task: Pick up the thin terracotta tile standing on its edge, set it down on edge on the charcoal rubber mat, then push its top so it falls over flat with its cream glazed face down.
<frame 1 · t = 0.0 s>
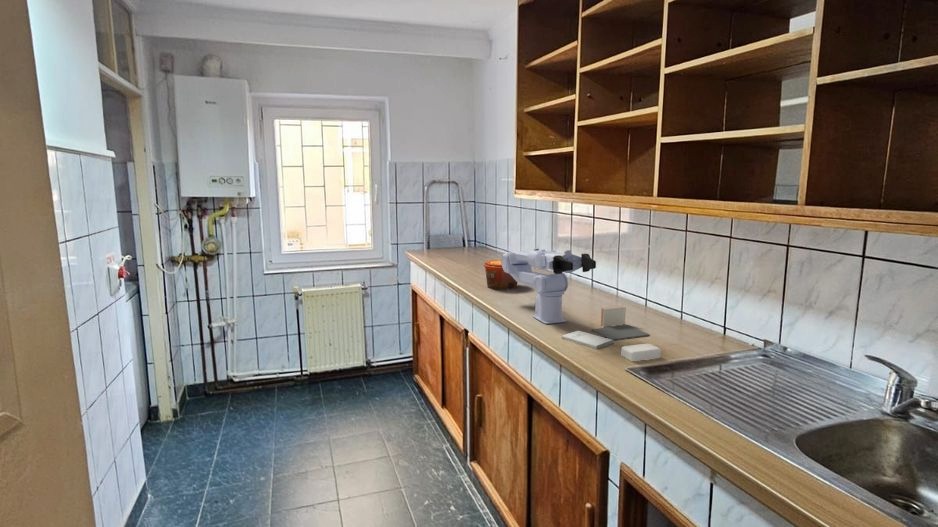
hand: (583, 265, 151), 22 cm above the worktop, tool horizontal, fingers open, 7 cm apart
food container: (502, 287, 223), on the worktop
external hard drive: (587, 343, 151), on the worktop
tile: (612, 325, 166), on the worktop
mat: (620, 333, 158), on the worktop
soap: (640, 358, 138), on the worktop
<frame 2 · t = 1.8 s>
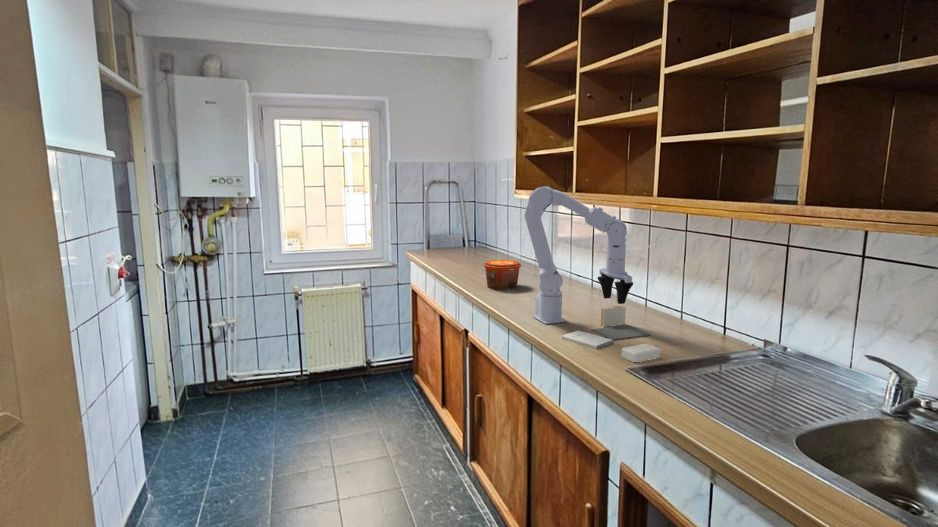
hand: (614, 300, 165), 8 cm above the worktop, tool pointing down, fingers open, 7 cm apart
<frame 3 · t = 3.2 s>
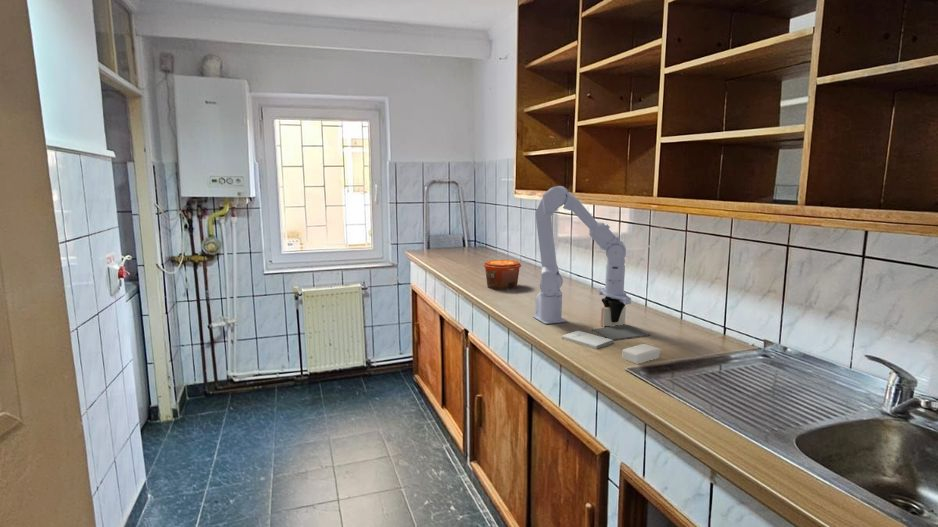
hand: (613, 321, 166), 1 cm above the worktop, tool pointing down, fingers closed on tile, 1 cm apart
tile: (612, 325, 166), on the worktop, touching gripper
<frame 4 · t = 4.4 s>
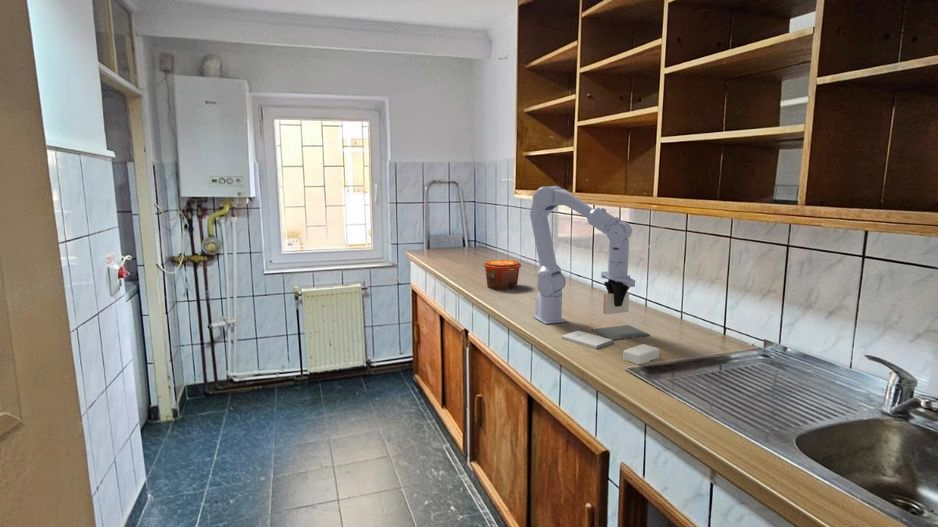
hand: (616, 305, 159), 8 cm above the worktop, tool pointing down, fingers closed on tile
tile: (615, 312, 159), point 6 cm above the worktop, touching gripper
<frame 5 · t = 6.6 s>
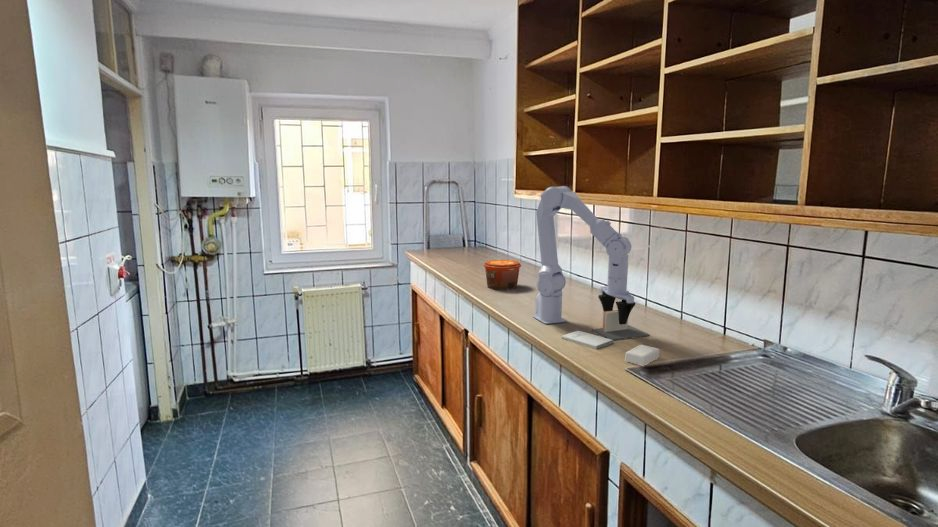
hand: (615, 320, 160), 3 cm above the worktop, tool pointing down, fingers open, 7 cm apart
tile: (615, 329, 160), resting on mat
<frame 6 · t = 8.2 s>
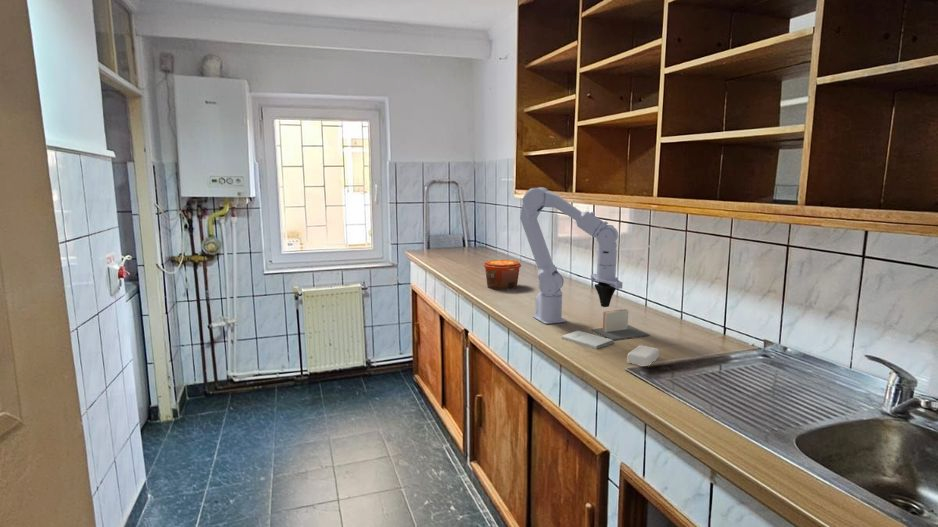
hand: (605, 306, 165), 6 cm above the worktop, tool pointing down, fingers closed
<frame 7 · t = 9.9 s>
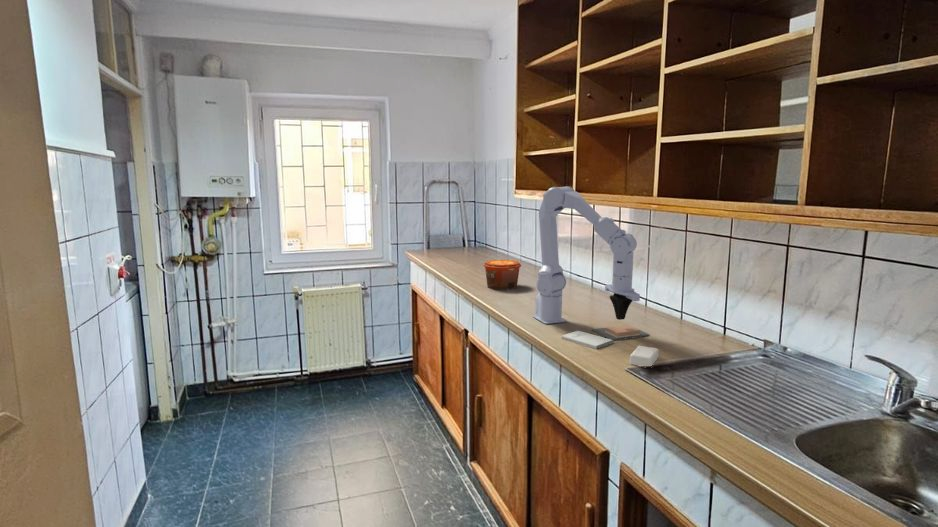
hand: (620, 318, 157), 5 cm above the worktop, tool pointing down, fingers closed
tile: (616, 328, 159), point 1 cm above the worktop, tilted 90°, touching mat
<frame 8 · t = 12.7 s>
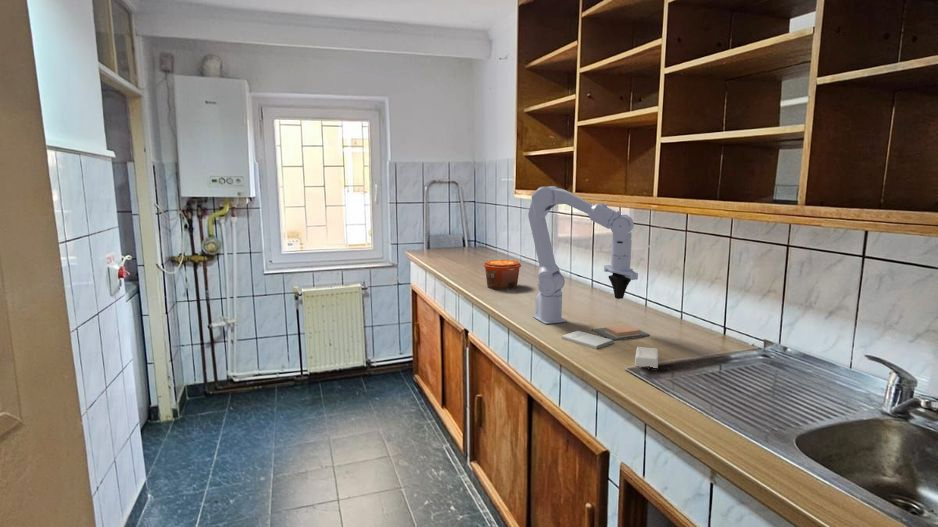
hand: (619, 298, 160), 10 cm above the worktop, tool pointing down, fingers closed
at the end: tile tilted 90°; tile inside the target area (1.7 cm from its centre), point 1.1 cm above the worktop; the gripper is holding nothing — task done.
